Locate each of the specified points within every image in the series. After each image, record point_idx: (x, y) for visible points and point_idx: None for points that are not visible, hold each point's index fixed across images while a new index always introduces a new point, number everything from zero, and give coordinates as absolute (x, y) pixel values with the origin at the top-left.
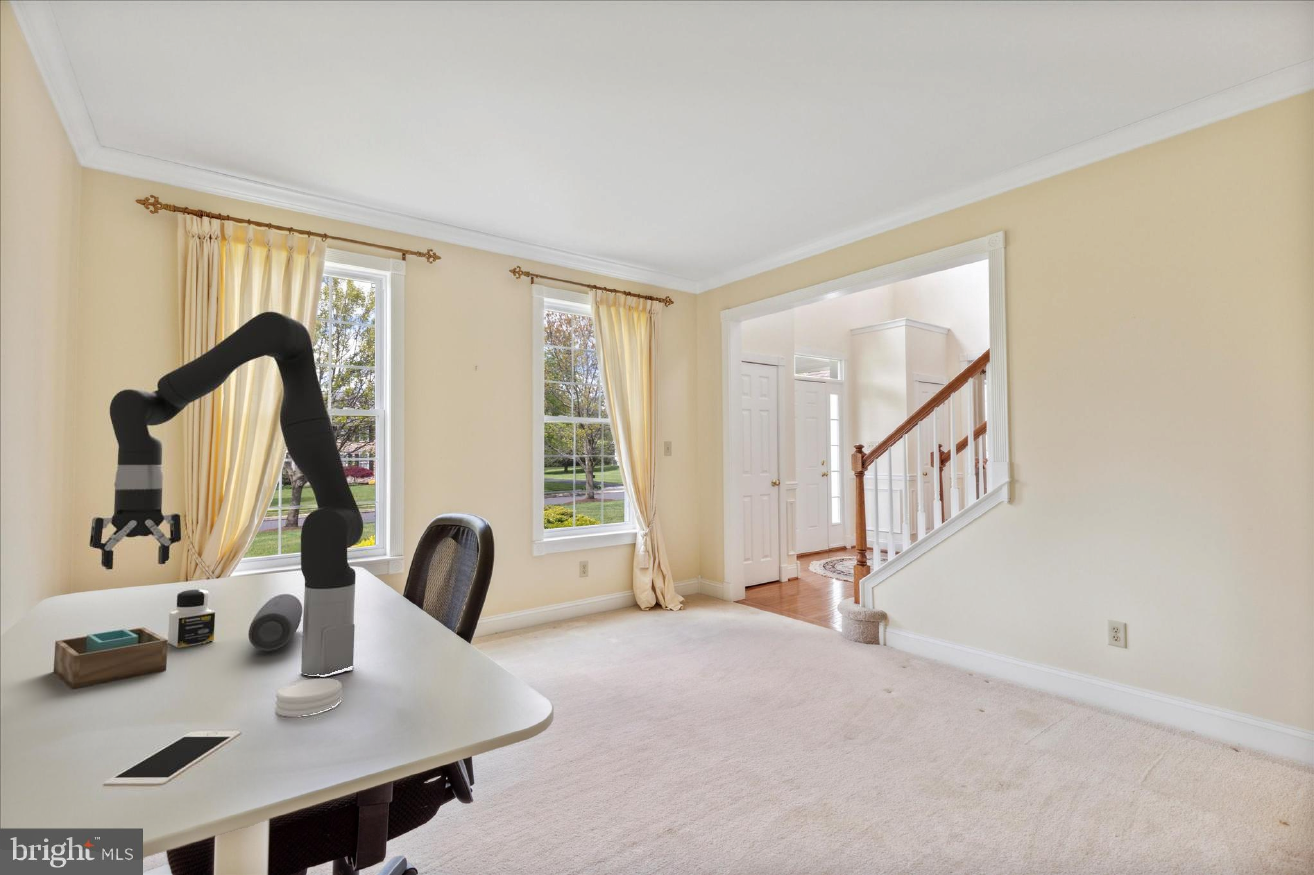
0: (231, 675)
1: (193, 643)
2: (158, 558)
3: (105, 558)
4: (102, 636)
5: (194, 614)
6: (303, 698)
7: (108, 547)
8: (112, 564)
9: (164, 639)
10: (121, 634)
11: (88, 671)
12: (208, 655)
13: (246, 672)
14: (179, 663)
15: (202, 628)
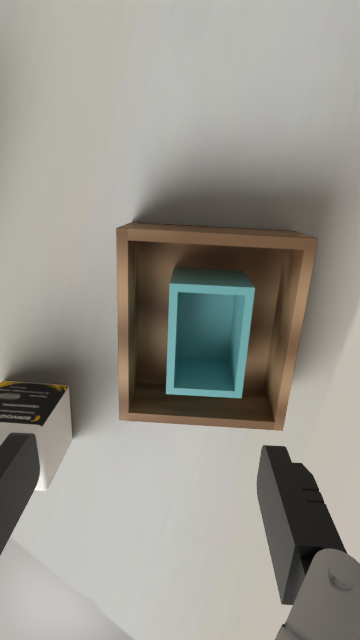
0: (37, 24)
1: (38, 384)
2: (27, 498)
3: (316, 506)
4: (212, 385)
5: (5, 426)
6: None
7: (346, 571)
8: (271, 459)
9: (120, 241)
10: (175, 382)
11: (276, 232)
12: (35, 274)
13: (2, 19)
14: (96, 257)
15: (7, 399)
